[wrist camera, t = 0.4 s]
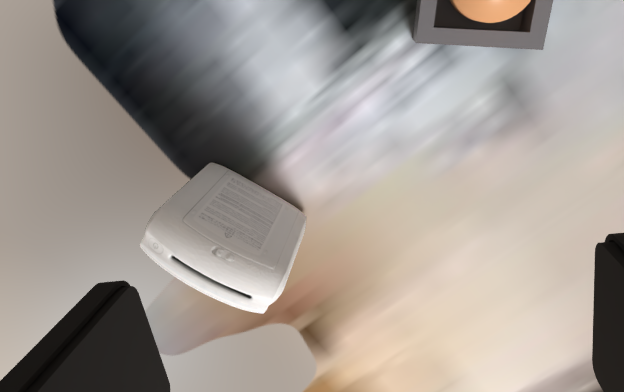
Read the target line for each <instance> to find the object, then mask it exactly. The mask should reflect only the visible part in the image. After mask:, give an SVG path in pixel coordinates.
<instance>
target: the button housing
mask: <svg viewBox="0 0 624 392" xmlns="http://www.w3.org/2000/svg"><path fill="white" fill-rule="evenodd" d="M552 3H553V0H531V1H530V2H529V4H528V5H527V6H526V7H525V8H524V9H523V10H522V11H521V12H519V13H518V14H517V15H515V16H513V17H511V18H509V19H507V20H504V21H501V22H495V23H485V22H479V21H474V20H471V19H468V18H466V17H464V16H462V15H461V14H460V13H459V12H457V10H456V9H455V8H454V7H453V5H452V4H451V2H450V0H417V6H416V15H415V24H414V33H413V40H414V41H415V42H416V43H427V44H445V45H464V46H483V47H502V48H520V49H539V50H543V46H544V42H545V37H546V32H547V27H548V22H549V18H550V13H551V8H552Z"/></svg>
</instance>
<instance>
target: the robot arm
mask: <svg viewBox="0 0 624 392" xmlns="http://www.w3.org/2000/svg"><path fill="white" fill-rule="evenodd" d="M592 361H593V369H594V373H595V376H596V378H597V380H598V383H599V384H600V386H601V388H602V390H603V391H604V392H624V233H617V234H609V235H608V236H607V237H606V240H605V242H604V243H598V244H597V245H596V248H595V277H594V316H593V355H592ZM0 392H170V383H169V380H168V377H167V374H166V371H165V369H164V366H163V363H162V360H161V357H160V354H159V351H158V348H157V345H156V342H155V340H154V337H153V334H152V331H151V328H150V325H149V322H148V319H147V317H146V314H145V311H144V308H143V305H142V303H141V299H140V296H139V293H138V292H137V290H136V288H135V287H133V286H130V285H129V284H128V283H127V282H126V281H115V282H104V283H98V284H97V285H95V286H94V287H93V288H92V289H91V290H90V291H89V292H88V293H87V294H86V295H85V296H84V297H83V298H82V299H81V300H80V301H79V302H78V303H77V304H76V305H75V306H74V307H73V308H72V309H71V310H70V311H69V312H68V313H67V314H66V315H65V316H64V318H62V319H61V320H60V321H59V322H58V323H57V324H56V325H55V326H54V327H53V328H52V329H51V331H49V333H48V334H47V335H45V337H43V338H42V340H41V341H40V342H39V343H38V344H37V345H36V346H35V347H34V348H33V349H32V350H31V351H30V352H29V353H28V354H27V355H26V356H25V357H24V358H23V359H22V360H21V361H20V362H19V363H18V364H17V365H16V366H15V367H14V368H13V369H12V370H11V371H10V372H9V373H8V374H7V375H6V376H5V377H4V378H3V379H2V380H1V381H0Z"/></svg>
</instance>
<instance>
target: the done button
mask: <svg viewBox="0 0 624 392" xmlns="http://www.w3.org/2000/svg"><path fill="white" fill-rule="evenodd" d="M530 1H531V0H450V2H451V4H452V5H453V7H454V8H455V9H456V10H457V12H459V13H460V14H461V15H462V16H464V17H466V18H468V19H471V20H474V21H479V22H485V23H495V22H501V21H504V20H507V19H509V18H511V17H513V16H515V15H517V14H518V13H519V12H521V11H522V10H523V9H524V8H525V7H526V6H527V5H528V4H529V2H530Z"/></svg>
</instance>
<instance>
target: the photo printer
mask: <svg viewBox="0 0 624 392" xmlns="http://www.w3.org/2000/svg"><path fill="white" fill-rule="evenodd" d="M305 228H306V216H305V214H304V213H302V212H301V211H300V210H299V209H297V208H296V207H295V206H293V205H291V204H290V203H288V202H286V201H285V200H283V199H282V198H280V197H278V196H276V195H275V194H273V193H271V192H269V191H268V190H266V189H264V188H262V187H261V186H259V185H257V184H255V183H254V182H252V181H250V180H248V179H247V178H245V177H243V176H241V175H240V174H238V173H236V172H234V171H232V170H230V169H228V168H226V167H224V166H221V165H219V164H216V163H209V164H208V165H207V166H206V167H204V168H203V169H202V170H201V171H200V172H199V173H198V174H196V175H195V176H194V177H193V178H192V179H191V180H190V181H189V182H187V183H186V185H184V186H183V187H182V188H181V189H180V190H179V191H177V192H176V193H175V194H174V195H173V196H172V197H171V198H170V199H169V200H168V201H166V203H164V204H163V205H162V206H161V207H160V208H159V209H158V210H157V211H155V212H154V214H153V215H152V217H151V218H150V220H149V222H148V224H147V226H146V228H145V234H144V237H143V238H142V240H141V242H140V247H141V248H142V250H143V251H144V252H145V253H146V254H147V255H148V256H149V257H150V258H151V259H152V260H153V261H155V262H156V263H157V264H158V265H159V266H161V267H162V268H163V269H165V270H166V271H167V272H169V273H170V274H172V275H173V276H175V277H176V278H178V279H179V280H181V281H182V282H184V283H186V284H187V285H189V286H191V287H193V288H194V289H196V290H198V291H200V292H202V293H204V294H206V295H208V296H210V297H212V298H214V299H216V300H218V301H221V302H223V303H226V304H228V305H231V306H233V307H236V308H239V309H242V310H246V311H250V312H255V313H261V314H263V313H264V312H265V311H266V309H267V308H268V306H269V305H270V304H271V303H273V302H274V301H275V300H276V299H277V298H278V297H279V296H280V295H281V293H282V292H283V290H284V287H285V285H286V282H287V279H288V276H289V273H290V271H291V268H292V265H293V262H294V260H295V257H296V254H297V251H298V248H299V246H300V243H301V240H302V237H303V235H304V232H305Z"/></svg>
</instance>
